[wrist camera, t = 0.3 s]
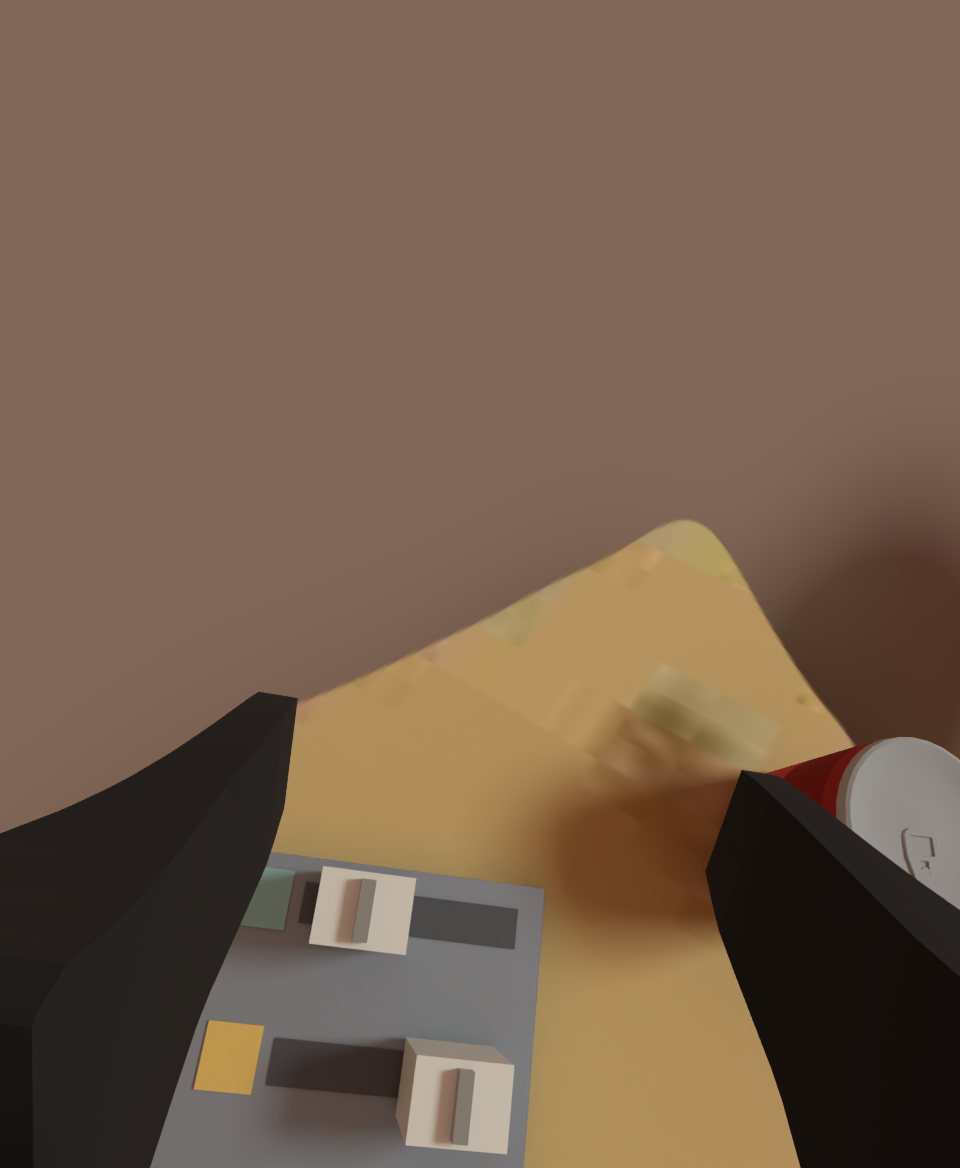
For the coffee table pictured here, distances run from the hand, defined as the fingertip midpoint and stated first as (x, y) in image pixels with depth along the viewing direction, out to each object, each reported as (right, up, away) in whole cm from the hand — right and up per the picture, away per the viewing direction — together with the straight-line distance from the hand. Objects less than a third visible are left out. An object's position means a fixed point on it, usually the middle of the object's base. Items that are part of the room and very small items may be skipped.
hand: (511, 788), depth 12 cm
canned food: (+17, -11, +31) cm, 37 cm away
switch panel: (-6, -19, +23) cm, 31 cm away
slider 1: (-6, -12, +24) cm, 28 cm away
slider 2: (-2, -19, +22) cm, 29 cm away
